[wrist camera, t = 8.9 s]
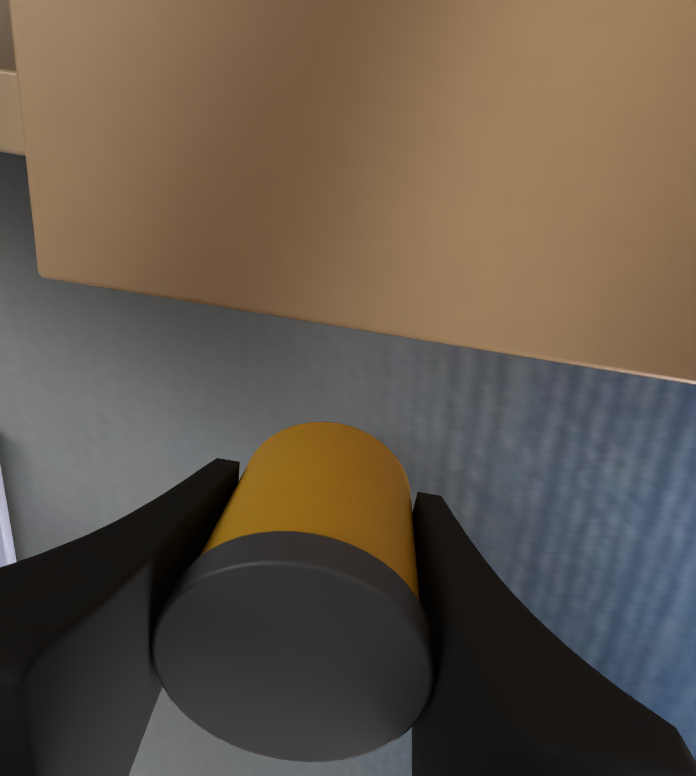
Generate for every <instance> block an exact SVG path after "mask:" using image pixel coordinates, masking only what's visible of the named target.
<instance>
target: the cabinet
mask: <svg viewBox="0 0 696 776" xmlns="http://www.w3.org/2000/svg"><path fill="white" fill-rule="evenodd" d="M9 10H10V19H11V28H12V37H13V46H14V55H15V64H16V73H17V82H18V91H19V101H20V110H21V119H22V128H23V137H24V146H25V155H26V164H27V173H28V182H29V192H30V201H31V210H32V219H33V228H34V237H35V246H36V255H37V264H38V272H39V274H40V276H42V277H44V278H47V279H53V280H59V281H65V282H71V283H77V284H83V285H89V286H95V287H102V288H108V289H114V290H120V291H126V292H132V293H138V294H144V295H150V296H156V297H163V298H169V299H175V300H181V301H187V302H193V303H199V304H205V305H211V306H218V307H224V308H230V309H236V310H242V311H248V312H254V313H260V314H266V315H272V316H279V317H285V318H291V319H297V320H303V321H309V322H315V323H321V324H327V325H334V326H340V327H346V328H352V329H358V330H364V331H370V332H376V333H382V334H388V335H395V336H401V337H407V338H413V339H419V340H425V341H431V342H437V343H443V344H450V345H456V346H462V347H468V348H474V349H480V350H486V351H492V352H498V353H504V354H511V355H517V356H523V357H529V358H535V359H541V360H547V361H553V362H559V363H566V364H572V365H578V366H584V367H590V368H596V369H602V370H608V371H614V372H620V373H627V374H633V375H639V376H645V377H651V378H657V379H663V380H669V381H675V382H682V383H688V384H694V385H696V0H9Z"/></svg>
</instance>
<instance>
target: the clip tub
mask: <svg viewBox="0 0 696 776" xmlns="http://www.w3.org/2000/svg"><path fill="white" fill-rule="evenodd" d="M152 653H153V661H154V665H155V669H156V672H157V675H158V677H159V679H160V682H161V684H162V686H163V688H164V689H165V691H166V692H167V694H168V695H169V697H170V698H171V700H172V701H173V702H174V703H175V704H176V705H177V707H178V708H179V709H180V710H181V711H182V712H183V713H184V714H185V715H186V716H187V717H189V718H190V719H191V720H192V721H193V722H195V723H196V724H197V725H199V726H200V727H201V728H202V729H204V730H206V731H207V732H209V733H210V734H212V735H214V736H215V737H217V738H219V739H221V740H223V741H225V742H227V743H229V744H231V745H234V746H236V747H239V748H241V749H244V750H246V751H249V752H253V753H256V754H259V755H263V756H267V757H272V758H276V759H283V760H290V761H301V762H327V761H336V760H344V759H348V758H353V757H358V756H361V755H364V754H367V753H370V752H373V751H375V750H378V749H380V748H382V747H384V746H386V745H388V744H390V743H391V742H393V741H395V740H396V739H398V738H399V737H401V736H402V735H403V734H404V733H406V732H407V731H408V730H409V729H410V728H411V727H412V726H413V725H414V724H415V723H416V722H417V720H418V719H419V717H420V716H421V714H422V713H423V711H424V710H425V708H426V705H427V703H428V701H429V698H430V695H431V692H432V687H433V683H434V663H433V653H432V643H431V635H430V628H429V623H428V620H427V617H426V614H425V612H424V609H423V608H422V606H421V604H420V602H419V589H418V577H417V565H416V553H415V541H414V529H413V516H412V504H411V493H410V486H409V482H408V479H407V476H406V473H405V471H404V469H403V467H402V465H401V464H400V462H399V461H398V459H397V458H396V456H395V455H394V454H393V453H392V452H391V451H390V450H389V449H388V448H387V447H386V446H385V445H384V444H382V443H381V442H380V441H379V440H377V439H376V438H374V437H373V436H371V435H370V434H368V433H366V432H364V431H362V430H359V429H357V428H354V427H351V426H348V425H343V424H339V423H331V422H311V423H304V424H300V425H296V426H292V427H289V428H287V429H284V430H282V431H280V432H278V433H277V434H275V435H273V436H272V437H270V438H269V439H268V440H266V441H265V442H264V443H263V444H262V445H261V446H260V447H259V448H258V449H257V450H256V452H255V453H254V454H253V456H252V457H251V459H250V461H249V463H248V465H247V467H246V469H245V471H244V473H243V475H242V476H241V478H240V480H239V482H238V484H237V486H236V488H235V490H234V492H233V494H232V496H231V497H230V499H229V501H228V503H227V505H226V507H225V509H224V511H223V513H222V515H221V517H220V518H219V520H218V522H217V524H216V526H215V528H214V530H213V532H212V534H211V536H210V538H209V539H208V541H207V543H206V545H205V547H204V549H203V551H202V553H201V555H200V557H199V558H197V559H196V560H195V561H194V562H193V563H192V564H191V565H190V566H189V567H188V568H187V569H185V571H184V572H183V574H182V575H181V576H180V578H179V579H178V580H177V582H176V584H175V586H174V588H173V590H172V591H171V593H170V595H169V597H168V599H167V600H166V602H165V604H164V606H163V608H162V610H161V612H160V614H159V616H158V618H157V620H156V624H155V628H154V632H153V643H152Z"/></svg>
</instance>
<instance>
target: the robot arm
mask: <svg viewBox="0 0 696 776" xmlns="http://www.w3.org/2000/svg"><path fill="white" fill-rule="evenodd" d="M239 465H240V462H237V461H231V460H225V459H219V458H216V459H215V460H213V461H212V462H210V463H209V464H207V465H206V466H204V467H203V468H201V469H200V470H198V471H197V472H195V473H194V474H193V475H191V476H190V477H188V478H187V479H185V480H184V481H182V482H181V483H179V484H178V485H176V486H175V487H173V488H172V489H170V490H169V491H167V492H165V493H164V494H162V495H161V496H159V497H158V498H156V499H154V500H152V501H151V502H149V503H147V504H146V505H144V506H142V507H141V508H139V509H137V510H135V511H134V512H132V513H130V514H128V515H127V516H125V517H123V518H121V519H119V520H117V521H115V522H113V523H111V524H109V525H107V526H105V527H103V528H101V529H99V530H96V531H94V532H92V533H90V534H88V535H86V536H83V537H81V538H79V539H76V540H74V541H71V542H69V543H66V544H64V545H61V546H59V547H56V548H54V549H51V550H48V551H46V552H43V553H41V554H38V555H36V556H33V557H30V558H27V559H24V560H21V561H18V562H17V561H16V555H15V549H14V543H13V537H12V531H11V525H10V519H9V513H8V507H7V501H6V495H5V489H4V483H3V477H2V471H1V465H0V776H129V773H130V770H131V768H132V765H133V762H134V759H135V757H136V754H137V751H138V749H139V746H140V743H141V740H142V738H143V735H144V733H145V730H146V727H147V725H148V722H149V720H150V717H151V714H152V712H153V709H154V707H155V704H156V701H157V699H158V696H159V694H160V691H161V689H162V684H161V682H160V679H159V677H158V675H157V672H156V669H155V665H154V661H153V653H152V643H153V632H154V628H155V624H156V620H157V618H158V616H159V614H160V612H161V610H162V608H163V606H164V604H165V602H166V600H167V599H168V597H169V595H170V593H171V591H172V590H173V588H174V586H175V584H176V582H177V580H178V579H179V578H180V576H181V575H182V574H183V572H184V571H185V569H187V568H188V567H189V566H190V565H191V564H192V563H193V562H194V561H195V560H196V559H197V558H199V557H200V555H201V553H202V551H203V549H204V547H205V545H206V543H207V541H208V539H209V538H210V536H211V534H212V532H213V530H214V528H215V526H216V524H217V522H218V520H219V518H220V517H221V515H222V513H223V511H224V509H225V507H226V505H227V503H228V501H229V499H230V497H231V496H232V494H233V492H234V490H235V488H236V486H237V484H238V480H239ZM412 516H413V529H414V541H415V553H416V565H417V577H418V589H419V602H420V604H421V606H422V608H423V609H424V612H425V614H426V617H427V620H428V623H429V628H430V635H431V643H432V653H433V663H434V683H433V687H432V692H431V695H430V698H429V701H428V703H427V705H426V708H425V710H424V711H423V713H422V714H421V716H420V717H419V719H418V720H417V722H416V723H415V724H414V725H413V726H412V776H696V761H695V759H694V757H693V756H692V754H691V752H690V750H689V749H688V747H687V745H686V744H685V742H684V740H683V738H682V737H681V735H680V734H679V732H678V730H677V729H676V728H675V727H674V726H672V725H671V724H670V723H668V722H667V721H665V720H664V719H662V718H661V717H660V716H658V715H657V714H655V713H654V712H652V711H651V710H650V709H648V708H647V707H645V706H644V705H642V704H641V703H640V702H638V701H637V700H635V699H634V698H632V697H631V696H629V695H628V694H627V693H625V692H624V691H622V690H621V689H620V688H618V687H617V686H616V685H614V684H613V683H612V682H611V681H609V680H608V679H607V678H605V677H604V676H603V675H602V674H600V673H599V672H598V671H597V670H595V669H594V668H593V667H591V666H590V665H589V664H588V663H586V662H585V661H584V660H583V659H582V658H580V657H579V656H578V655H577V654H576V653H574V652H573V651H572V650H571V649H570V648H569V647H567V646H566V645H565V644H564V643H563V642H562V641H561V640H560V639H559V638H558V637H556V636H555V635H554V634H553V633H552V632H551V631H550V630H549V629H548V628H546V627H545V626H544V625H543V624H542V623H541V622H540V621H539V620H538V619H537V618H536V617H535V616H534V615H533V614H532V613H531V612H530V611H529V610H528V609H527V608H526V607H525V606H524V605H523V604H522V602H521V601H520V600H519V599H518V598H517V597H516V596H515V595H514V594H513V593H512V592H511V591H510V590H509V589H508V587H507V586H506V585H505V584H504V583H503V582H502V581H501V579H500V578H499V577H498V576H497V574H496V573H495V572H494V571H493V569H492V568H491V567H490V566H489V565H488V563H487V562H486V561H485V559H484V558H483V557H482V556H481V554H480V553H479V551H478V550H477V549H476V547H475V546H474V544H473V543H472V542H471V540H470V539H469V537H468V536H467V535H466V533H465V532H464V530H463V529H462V527H461V526H460V524H459V523H458V521H457V520H456V518H455V516H454V515H453V513H452V512H451V510H450V509H449V507H448V506H447V504H446V503H445V501H444V500H443V498H442V497H441V496H439V495H433V494H427V493H421V492H418V493H417V497H416V501H415V505H414V509H413V513H412Z"/></svg>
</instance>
